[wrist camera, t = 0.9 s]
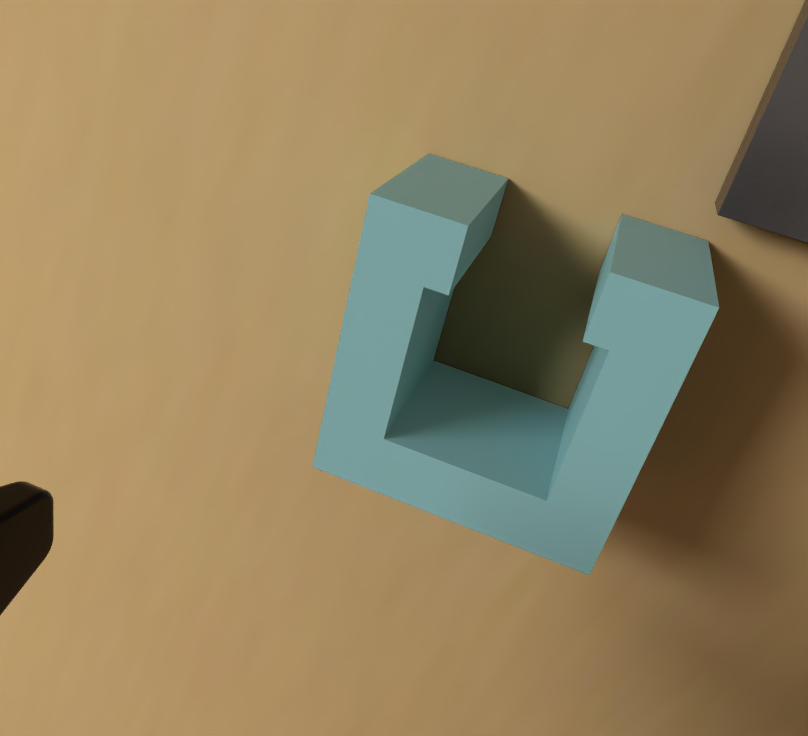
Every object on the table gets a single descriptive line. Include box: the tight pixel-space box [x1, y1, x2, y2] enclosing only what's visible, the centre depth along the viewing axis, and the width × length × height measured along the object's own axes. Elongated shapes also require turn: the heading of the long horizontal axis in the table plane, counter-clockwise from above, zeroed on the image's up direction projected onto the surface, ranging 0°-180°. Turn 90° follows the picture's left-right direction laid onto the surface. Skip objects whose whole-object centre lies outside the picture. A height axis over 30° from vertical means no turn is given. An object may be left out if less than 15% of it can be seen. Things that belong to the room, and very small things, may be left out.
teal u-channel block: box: [313, 154, 719, 575], centre depth 17 cm, size 6×6×4 cm
